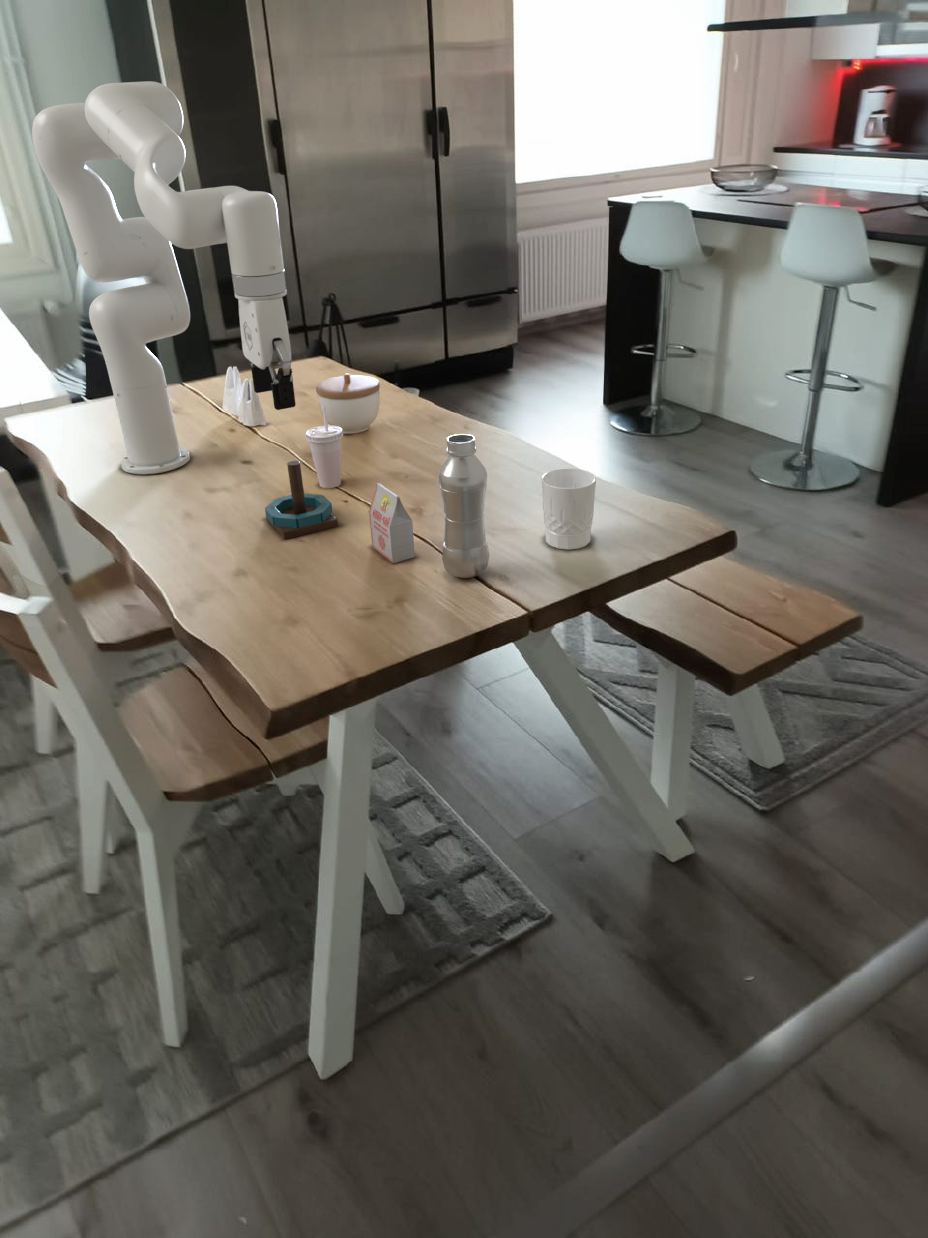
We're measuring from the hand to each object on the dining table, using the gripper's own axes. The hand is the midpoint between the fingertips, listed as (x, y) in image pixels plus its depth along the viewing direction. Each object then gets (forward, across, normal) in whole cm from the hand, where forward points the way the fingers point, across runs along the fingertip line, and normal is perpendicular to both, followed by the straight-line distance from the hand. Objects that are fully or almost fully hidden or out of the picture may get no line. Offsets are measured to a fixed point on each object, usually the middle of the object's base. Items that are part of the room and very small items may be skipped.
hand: (274, 399), depth 147 cm
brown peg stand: (+19, +5, 0) cm, 20 cm away
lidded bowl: (+20, -34, +25) cm, 47 cm away
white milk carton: (+19, +23, +8) cm, 31 cm away
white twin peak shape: (+20, -52, +8) cm, 56 cm away
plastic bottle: (+18, +35, +14) cm, 42 cm away
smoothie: (+20, -8, +10) cm, 23 cm away
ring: (+18, +4, 0) cm, 18 cm away
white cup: (+18, +34, +32) cm, 50 cm away
